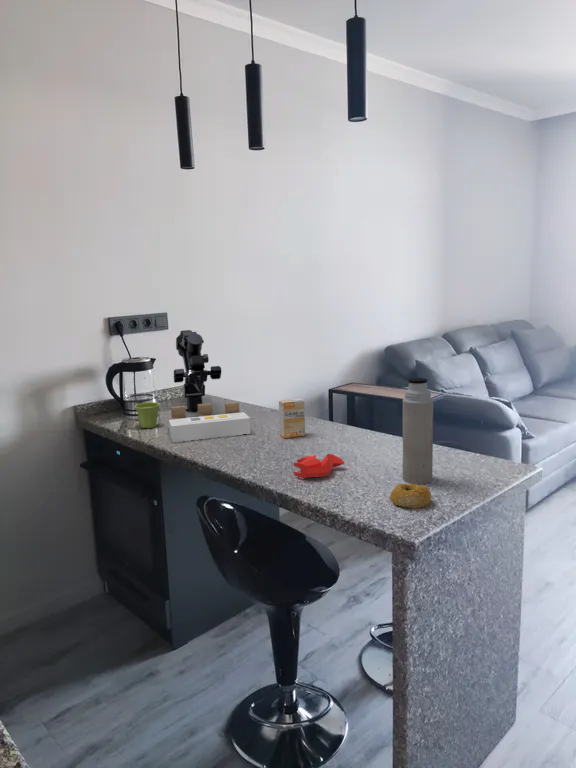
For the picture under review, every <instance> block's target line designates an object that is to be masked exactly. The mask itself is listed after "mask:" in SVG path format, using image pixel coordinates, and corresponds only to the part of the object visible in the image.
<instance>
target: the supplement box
mask: <svg viewBox="0 0 576 768" xmlns="http://www.w3.org/2000/svg"><path fill="white" fill-rule="evenodd" d="M305 408H306V407H305V399H303V398H300V397H299V398H292V399H291V398H290V399H279V400H278V416H279V419H278V420H279V421H278V422H279V435H280V437H282V438H283V439H289V438H291V437H292V438H298V437H305V436H306V416H305V415H306V412H305V410H306V409H305Z"/></svg>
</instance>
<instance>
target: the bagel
mask: <svg viewBox="0 0 576 768" xmlns="http://www.w3.org/2000/svg"><path fill="white" fill-rule="evenodd" d="M389 498H390V502H391V501H392V502H393V503H392V502H391V503H392V504H393V505H395V506H397V505H398V506H397V507H401V506H402V507H401V508H406V507H408V508H407V509H414V508H416V509H420V508H419V507H421V508H424V507H423V506H425V507H426V506H428V505H429V504H430V501H431V499H432V494H431V491H430V489H429V488H428V487H427V486H426V485H424V484H413V483H399V484H397V485H396V486H395V487H394V488H393V489H392V491H391V492H390V496H389Z"/></svg>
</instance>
